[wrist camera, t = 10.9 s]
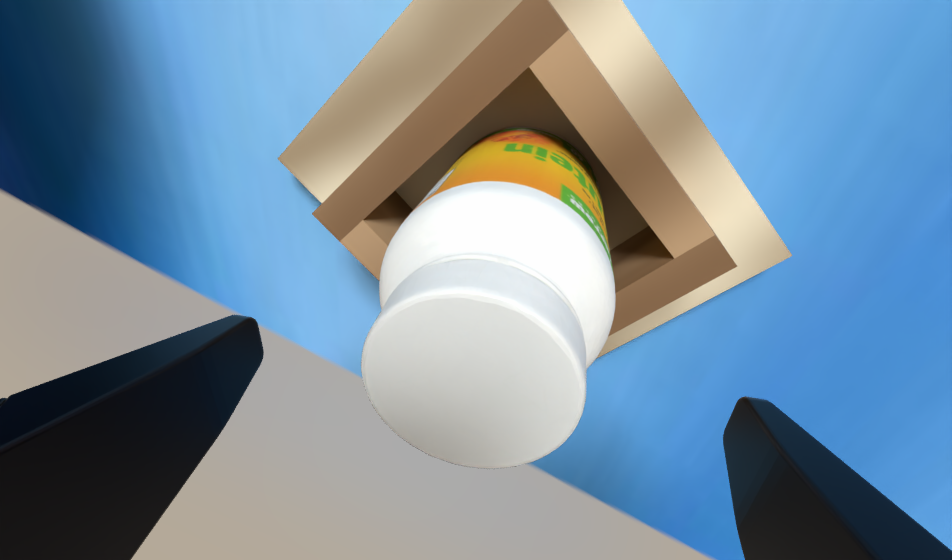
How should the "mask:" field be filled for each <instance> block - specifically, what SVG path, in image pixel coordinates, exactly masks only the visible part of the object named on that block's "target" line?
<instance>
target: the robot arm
mask: <svg viewBox="0 0 952 560" xmlns="http://www.w3.org/2000/svg"><path fill="white" fill-rule="evenodd" d="M262 359H263V346H262V342H261V337H260V332H259V328H258V323H257V321H256V320H255V319H254V318H252V317H247V316H241V315H231V316H228V317H225V318H223V319H220V320H217V321H214V322H212V323H209V324H206V325H203V326H201V327H198V328H195V329H193V330H190V331H187V332H184V333H181V334H178V335H176V336H173V337H170V338H167V339H165V340H162V341H159V342H156V343H154V344H151V345H148V346H145V347H143V348H140V349H137V350H134V351H131V352H129V353H126V354H123V355H121V356H118V357H115V358H112V359H109V360H107V361H104V362H101V363H99V364H96V365H93V366H90V367H87V368H85V369H82V370H79V371H76V372H73V373H71V374H68V375H65V376H62V377H60V378H57V379H54V380H52V381H49V382H46V383H43V384H40V385H38V386H35V387H32V388H29V389H26V390H24V391H21V392H18V393H16V394H13V395H11V396H9V397H8V398H1V399H0V560H131V559H132V557H133V556H134V554H135V553H136V552H137V550H138V549H139V547H140V546H141V545H142V543H143V542H144V540H145V539H146V537H147V536H148V535H149V533H150V532H151V530H152V529H153V527H154V526H155V525H156V523H157V522H158V521H159V519H160V518H161V516H162V515H163V513H164V512H165V511H166V509H167V508H168V506H169V505H170V504H171V502H172V501H173V499H174V498H175V497H176V495H177V494H178V492H179V491H180V490H181V488H182V487H183V485H184V484H185V483H186V481H187V479H188V478H189V477H190V475H191V474H192V473H193V471H194V470H195V468H196V467H197V466H198V464H199V463H200V461H201V460H202V459H203V457H204V456H205V454H206V453H207V451H208V450H209V449H210V447H211V446H212V445H213V443H214V442H215V440H216V439H217V437H218V436H219V434H220V433H221V431H222V430H223V428H224V427H225V425H226V423H227V422H228V420H229V419H230V417H231V415H232V413H233V412H234V410H235V408H236V406H237V405H238V403H239V401H240V399H241V397H242V396H243V394H244V392H245V391H246V389H247V387H248V385H249V383H250V382H251V380H252V378H253V376H254V375H255V373H256V371H257V370H258V368H259V366H260V364H261V362H262ZM723 445H724V451H725V458H726V464H727V470H728V477H729V483H730V489H731V496H732V502H733V508H734V515H735V520H736V525H737V530H738V534H739V538H740V542H741V546H742V550H743V554H744V557H745V560H952V551H951V550H950V549H949V548H948V547H947V546H945V545H944V544H943V543H942V542H940V541H939V540H938V539H937V538H936V537H934V536H933V535H932V534H931V533H929V532H928V531H927V530H926V529H925V528H923V527H922V526H921V525H920V524H919V523H917V522H916V521H915V520H914V519H912V518H911V517H910V516H909V515H908V514H906V513H905V512H904V511H903V510H901V509H900V508H899V507H898V506H897V505H895V504H894V503H893V502H892V501H890V500H889V499H888V498H887V497H886V496H884V495H883V494H882V493H881V492H880V491H878V490H877V489H876V488H875V487H873V486H872V485H871V484H870V483H869V482H867V481H866V480H865V479H864V478H862V477H861V476H860V475H859V474H858V473H856V472H855V471H854V470H853V469H851V468H850V467H849V466H848V465H847V464H845V463H844V462H843V461H842V460H841V459H839V458H838V457H837V456H836V455H834V454H833V453H832V452H831V451H830V450H828V449H827V448H826V447H825V446H823V445H822V444H821V443H820V442H819V441H817V440H816V439H815V438H814V437H812V436H811V435H810V434H809V433H808V432H806V431H805V430H804V429H803V428H802V427H800V426H799V425H798V424H797V423H795V422H794V421H793V420H792V419H791V418H789V417H788V416H787V415H786V414H784V413H783V412H782V411H781V410H780V409H778V408H777V407H776V406H775V405H773V404H772V403H771V402H769V401H767V400H764V399H758V398H752V397H742V398H740V399H739V400H738V401H737V403H736V405H735V408H734V410H733V412H732V414H731V416H730V419H729V421H728V423H727V425H726V428H725V430H724V435H723Z"/></svg>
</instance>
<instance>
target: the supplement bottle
mask: <svg viewBox="0 0 952 560" xmlns="http://www.w3.org/2000/svg"><path fill="white" fill-rule="evenodd" d="M379 294H380V305H381V309H382V311H381V312H380V314H379V315H378V317H377V319H376V320H375V322H374V324H373V326H372V327H371V329H370V331H369V333H368V335H367V337H366V340H365V343H364V347H363V351H362V360H361V372H362V377H363V382H364V387H365V390H366V393H367V395H368V397H369V399H370V401H371V403H372V405H373V407H374V409H375V410H376V412H377V413H378V415H379V416H380V417H381V418H382V420H383V421H384V422H385V423H386V424H387V425H388V426H389V427H390V428H391V429H392V430H393V431H394V432H395V433H396V434H397V435H398V436H400V437H401V438H402V439H403V440H405V441H406V442H408V443H409V444H410V445H412V446H414V447H415V448H417V449H419V450H421V451H423V452H425V453H426V454H428V455H430V456H433V457H435V458H438V459H441V460H443V461H446V462H450V463H452V464H457V465H461V466H466V467H474V468H484V469H498V468H508V467H515V466H519V465H522V464H526V463H530V462H533V461H535V460H537V459H540V458H542V457H544V456H546V455H548V454H549V453H551V452H552V451H554V450H555V449H556V448H558V447H559V446H561V444H563V443H564V442H565V441H566V440H567V439H568V437H569V436H570V435H571V434H572V432H573V431H574V429H575V428H576V426H577V424H578V422H579V420H580V418H581V415H582V412H583V409H584V405H585V400H586V369H587V368H588V367H589V366H590V365H591V364H592V363H593V361H594V360H595V359H596V358H597V356H598V355H599V353H600V351H601V350H602V348H603V346H604V344H605V342H606V340H607V338H608V335H609V332H610V329H611V326H612V323H613V319H614V313H615V300H616V295H615V281H614V274H613V267H612V262H611V256H610V250H609V244H608V236H607V230H606V225H605V219H604V212H603V205H602V198H601V193H600V188H599V184H598V181H597V178H596V175H595V173H594V171H593V169H592V167H591V165H590V163H589V162H588V160H587V159H586V158H585V156H584V155H583V154H582V153H581V152H580V151H579V150H578V149H577V148H576V147H575V146H574V145H573V144H572V143H570V142H569V141H568V140H566V139H565V138H563V137H561V136H560V135H557V134H555V133H553V132H551V131H547V130H544V129H541V128H535V127H527V126H520V127H509V128H504V129H500V130H497V131H494V132H492V133H489V134H487V135H485V136H484V137H482V138H480V139H479V140H477V141H476V142H475V143H473V144H472V145H471V146H470V147H469V148H468V149H467V150H466V151H465V152H464V153H463V154H462V155H461V156H460V157H459V158H458V159H457V160H456V162H455V163H454V164H453V165H452V166H451V167H450V169H449V170H448V171H447V172H446V174H445V175H444V176H443V177H442V178H441V179H440V181H439V182H438V183H437V184H436V185H435V186H434V187H433V189H432V190H431V191H430V192H429V193H428V194H427V196H426V197H425V198H424V199H423V200H422V201H421V202H420V203H419V205H417V206H416V208H415V209H414V210H413V211H412V212H411V213H410V215H409V216H408V217H407V218H406V219H405V220H404V222H403V223H402V224H401V226H400V227H399V229H398V230H397V232H396V233H395V235H394V236H393V238H392V240H391V242H390V244H389V246H388V248H387V250H386V253H385V256H384V258H383V262H382V266H381V271H380V282H379Z"/></svg>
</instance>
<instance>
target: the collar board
mask: <svg viewBox="0 0 952 560" xmlns="http://www.w3.org/2000/svg"><path fill="white" fill-rule="evenodd" d="M520 126H527V127H535V128H541V129H544V130H547V131H551V132H553V133H555V134H557V135H560V136H561V137H563V138H565V139H566V140H568V141H569V142H570V143H572V144H573V145H574V146H575V147H576V148H577V149H578V150H579V151H580V152H581V153H582V154H583V155H584V156H585V158H586V159H587V160H588V162H589V163H590V165H591V167H592V169H593V171H594V173H595V175H596V178H597V181H598V184H599V188H600V193H601V198H602V205H603V212H604V219H605V225H606V230H607V236H608V244H609V250H610V256H611V262H612V267H613V274H614V281H615V295H616V300H615V313H614V319H613V323H612V326H611V329H610V332H609V335H608V338H607V340H606V342H605V344H604V346H603V348H602V350H601V351H600V353H599V355H598V356H597V358H598V357H600V356H602V355H604V354H606V353H608V352H610V351H612V350H613V349H615V348H617V347H619V346H621V345H623V344H625V343H627V342H629V341H631V340H633V339H634V338H636V337H638V336H640V335H642V334H644V333H646V332H648V331H650V330H652V329H654V328H655V327H657V326H659V325H661V324H663V323H665V322H667V321H669V320H671V319H673V318H674V317H676V316H678V315H680V314H682V313H684V312H686V311H688V310H690V309H692V308H694V307H695V306H697V305H699V304H701V303H703V302H705V301H707V300H709V299H711V298H713V297H714V296H716V295H718V294H720V293H722V292H724V291H726V290H728V289H730V288H732V287H734V286H735V285H737V284H739V283H741V282H743V281H745V280H747V279H749V278H751V277H753V276H755V275H756V274H758V273H760V272H762V271H764V270H766V269H768V268H770V267H772V266H774V265H775V264H777V263H779V262H781V261H783V260H785V259H787V258H789V257H791V256H792V255H791V253H790V252H789V250H788V249H787V247H786V246H785V244H784V243H783V241H782V240H781V238H780V237H779V235H778V234H777V232H776V231H775V229H774V228H773V226H772V225H771V223H770V222H769V220H768V219H767V217H766V216H765V214H764V213H763V211H762V210H761V208H760V207H759V205H758V204H757V202H756V201H755V199H754V198H753V196H752V195H751V193H750V192H749V190H748V189H747V187H746V186H745V184H744V183H743V181H742V180H741V178H740V177H739V175H738V174H737V172H736V171H735V169H734V168H733V166H732V165H731V163H730V162H729V160H728V159H727V157H726V156H725V154H724V153H723V151H722V150H721V148H720V147H719V145H718V144H717V142H716V141H715V139H714V138H713V136H712V135H711V133H710V132H709V130H708V129H707V127H706V126H705V124H704V123H703V121H702V120H701V118H700V117H699V115H698V114H697V112H696V111H695V109H694V108H693V106H692V105H691V103H690V102H689V100H688V99H687V97H686V96H685V94H684V93H683V91H682V90H681V88H680V87H679V85H678V84H677V82H676V81H675V79H674V78H673V76H672V75H671V73H670V72H669V70H668V69H667V67H666V66H665V64H664V63H663V61H662V60H661V58H660V57H659V55H658V54H657V52H656V51H655V49H654V48H653V46H652V45H651V43H650V42H649V40H648V39H647V37H646V36H645V34H644V33H643V31H642V30H641V28H640V27H639V25H638V24H637V22H636V21H635V19H634V18H633V16H632V15H631V13H630V12H629V10H628V9H627V7H626V6H625V4H624V3H623V1H622V0H413V1H412V2H411V3H410V4H409V6H408V7H407V8H406V9H405V10H404V11H403V13H402V14H401V15H400V16H399V17H398V18H397V20H396V21H395V22H394V23H393V24H392V25H391V27H390V28H389V29H388V30H387V31H386V32H385V34H384V35H383V36H382V37H381V38H380V40H379V41H378V42H377V43H376V44H375V45H374V47H373V48H372V49H371V50H370V51H369V52H368V54H367V55H366V56H365V57H364V58H363V59H362V61H361V62H360V63H359V64H358V65H357V66H356V68H355V69H354V70H353V71H352V72H351V73H350V75H349V76H348V77H347V78H346V79H345V80H344V82H343V83H342V84H341V85H340V86H339V87H338V89H337V90H336V91H335V92H334V93H333V95H332V96H331V97H330V98H329V99H328V100H327V102H326V103H325V104H324V105H323V106H322V107H321V109H320V110H319V111H318V112H317V113H316V114H315V116H314V117H313V118H312V119H311V120H310V121H309V123H308V124H307V125H306V126H305V127H304V128H303V130H302V131H301V132H300V133H299V134H298V135H297V137H296V138H295V139H294V140H293V141H292V143H291V144H290V145H289V146H288V147H287V148H286V150H285V151H284V152H283V153H282V154H281V155H280V157H279V158H278V160H279V161H280V162H281V163H282V164H283V165H284V166H285V167H286V168H287V169H288V170H289V171H290V172H291V173H292V174H293V175H294V176H295V177H296V178H297V179H298V180H299V181H300V182H301V183H302V184H303V185H304V186H305V187H306V188H307V189H308V190H309V191H310V192H311V193H312V194H313V195H314V196H315V197H316V198H317V199H318V200H319V201H320V202H321V203H322V204H321V205H320V206H319V207H318V208H317V209H316V210H315V211H314V212H313V213H312V214H313V215H314V216H315V217H316V218H317V219H318V220H319V221H320V222H321V223H322V224H323V225H324V226H325V227H326V228H327V229H328V230H329V231H330V232H331V233H332V234H333V235H334V236H335V237H336V238H337V239H338V240H339V241H340V242H341V243H342V244H343V245H344V246H345V247H346V248H347V249H348V250H349V251H350V252H351V253H352V254H353V255H354V256H355V257H356V258H357V259H358V260H359V261H360V262H361V263H362V264H363V265H364V266H365V267H366V268H367V269H368V270H369V271H370V272H371V273H372V274H373V275H374V276H375V277H376V278H377V279H378V280H379V281H380V271H381V266H382V262H383V258H384V256H385V253H386V250H387V248H388V246H389V244H390V242H391V240H392V238H393V236H394V235H395V233H396V232H397V230H398V229H399V227H400V226H401V224H402V223H403V222H404V220H405V219H406V218H407V217H408V216H409V215H410V213H411V212H412V211H413V210H414V209H415V208H416V206H417V205H419V203H420V202H421V201H422V200H423V199H424V198H425V197H426V196H427V194H428V193H429V192H430V191H431V190H432V189H433V187H434V186H435V185H436V184H437V183H438V182H439V181H440V179H441V178H442V177H443V176H444V175H445V174H446V172H447V171H448V170H449V169H450V167H451V166H452V165H453V164H454V163H455V162H456V160H457V159H458V158H459V157H460V156H461V155H462V154H463V153H464V152H465V151H466V150H467V149H468V148H469V147H470V146H471V145H472V144H473V143H475V142H476V141H477V140H479V139H480V138H482V137H484V136H485V135H487V134H489V133H492V132H494V131H497V130H500V129H504V128H509V127H520Z"/></svg>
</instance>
